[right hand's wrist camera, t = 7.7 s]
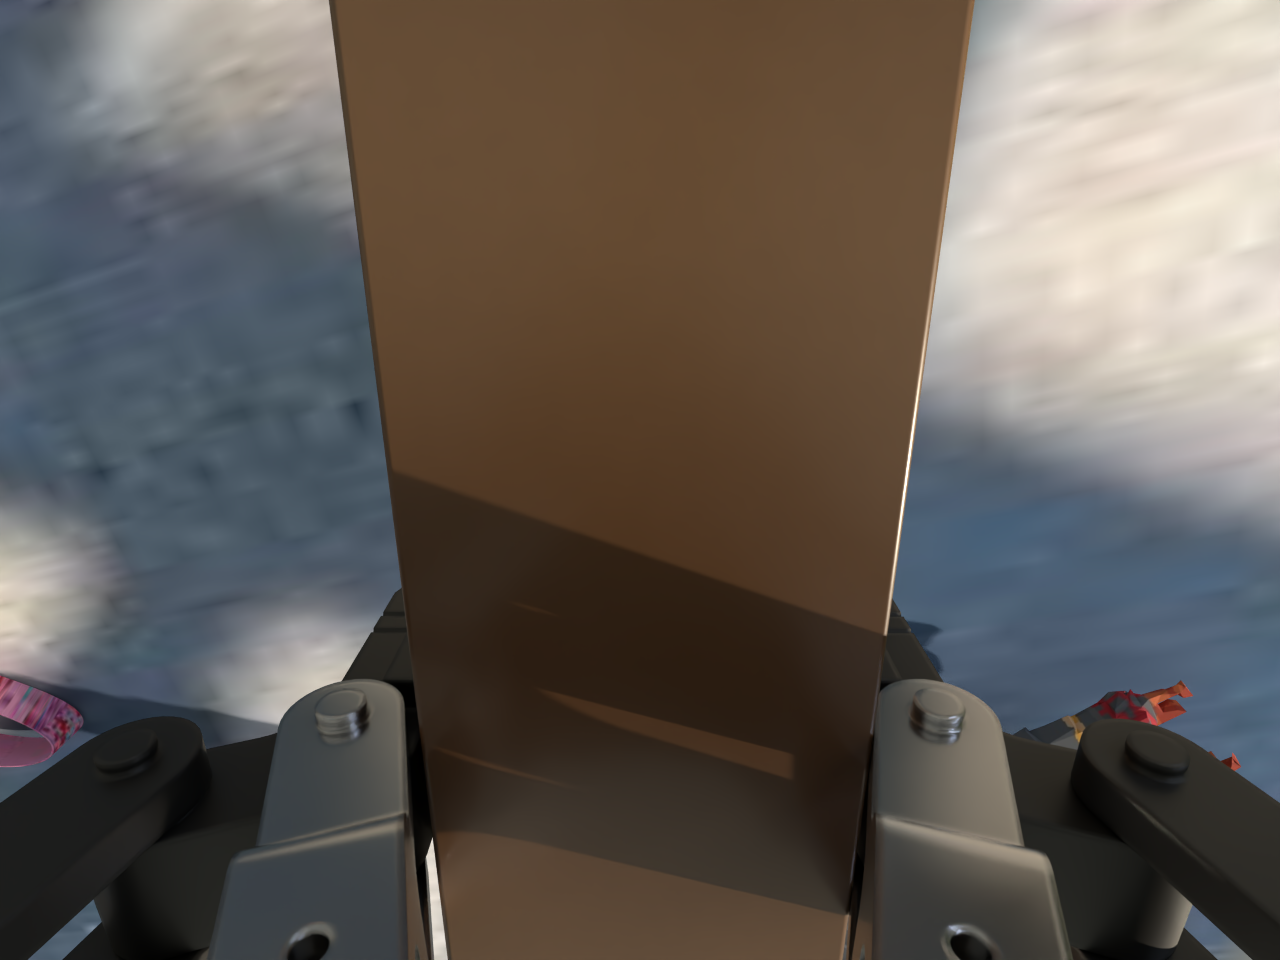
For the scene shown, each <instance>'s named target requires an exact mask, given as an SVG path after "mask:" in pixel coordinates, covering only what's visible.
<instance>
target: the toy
mask: <svg viewBox="0 0 1280 960" xmlns="http://www.w3.org/2000/svg"><path fill="white" fill-rule="evenodd" d="M1177 694H1178V695H1179V696H1181V697H1183V698H1185V697H1190V696H1193V695H1192V694H1191V692H1190V691H1189V690H1188V689H1187V687H1186V686H1185V685H1184V684H1183V682H1182V681H1180V682H1179V683H1178V684H1177V685H1175V686H1173V687H1170V688H1167V689H1159V690H1156V691H1152V692H1149V693H1146V694H1142V695H1140V694H1135V693H1133V692H1132V691H1131V689H1130V691H1129V692H1126V691H1116V692H1108V693H1107V694H1106V695H1105V696H1104V697H1103V698H1102V699H1101V700H1100V701H1099V702H1098V703H1096V704H1094V705H1092V706H1090V707H1088V708H1087V709H1085V710H1083V711H1081V712H1079V713H1077V714H1075V715H1073V716H1071V717H1070V716H1066V717H1063V718H1061V719H1059V720H1056V721H1054V722H1052V723H1049V724H1047V725H1045V726H1042V727H1039V728H1037V729H1034V730H1031V731H1028V729H1027V728H1026V727H1025V728H1023V729H1022V730H1020V731H1019V732H1017V733H1015V734H1014V736H1017V737H1021V738H1025V739H1029V740H1034V741H1038V742H1043V743H1048V744H1052V745H1057V746H1062V747H1066V748H1071V749H1076V750H1077V749H1078V745H1079V742H1080V738H1081V735H1082V732H1083V730H1084V729H1085V728H1086V727H1087V726H1088V725H1090V724H1091V723H1093V722H1096V721H1099V720H1104V719H1129V720H1136V721H1141V722H1145V723H1149V724H1152V725H1156V726H1158V725H1160V724H1162V723H1164V722H1166V721H1168V720H1170V719H1172V718H1174V717H1177V716H1179V715H1181V714H1183V713H1185V712H1186V711H1185V710H1184V708H1183V707H1182V706H1181V705H1180V704H1179V703H1178V702H1177V701H1176V700H1170V699H1168V698H1170V697H1173V696H1175V695H1177ZM1166 699H1167V700H1166ZM1163 700H1165V701H1163ZM1161 701H1163V702H1161ZM1159 702H1161V703H1159ZM1158 703H1159V704H1158ZM1208 753H1210V754H1211V755H1213V756H1214V754H1213V753H1212V752H1211V751H1210V752H1208ZM1214 757H1215V756H1214ZM1215 758H1216V757H1215ZM1221 762H1223V763H1224V764H1225V765H1227V766H1228V767H1230V768H1231V769H1232V770H1234V771H1235V770H1237V769H1238V768H1240V767H1241V766H1240V764H1239V762H1238V760H1237V758H1236V757H1235V755H1234V754H1233V753H1232V757H1230V758H1227V759H1225V760H1222V761H1221ZM848 920H849V916H848ZM847 936H848V923H847V930H846V937H845V945H844V952H843V959H842V960H846V951H847Z"/></svg>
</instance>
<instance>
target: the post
mask: <svg viewBox="0 0 1280 960" xmlns="http://www.w3.org/2000/svg"><path fill="white" fill-rule="evenodd" d="M974 2H975V0H329V5H330V13H331V21H332V29H333V37H334V45H335V54H336V62H337V70H338V78H339V86H340V94H341V102H342V110H343V118H344V126H345V134H346V142H347V150H348V158H349V166H350V174H351V182H352V191H353V199H354V207H355V215H356V223H357V231H358V239H359V247H360V255H361V263H362V271H363V279H364V287H365V295H366V303H367V311H368V320H369V328H370V336H371V344H372V352H373V360H374V368H375V376H376V384H377V392H378V400H379V408H380V416H381V424H382V432H383V440H384V448H385V457H386V465H387V473H388V481H389V489H390V497H391V505H392V513H393V521H394V529H395V537H396V545H397V553H398V561H399V569H400V577H401V585H402V594H403V602H404V610H405V618H406V626H407V634H408V642H409V650H410V658H411V666H412V674H413V682H414V690H415V698H416V706H417V714H418V722H419V731H420V739H421V747H422V755H423V763H424V771H425V779H426V787H427V795H428V803H429V811H430V819H431V827H432V835H433V843H434V851H435V860H436V868H437V876H438V884H439V892H440V900H441V908H442V916H443V924H444V932H445V940H446V948H447V956H448V960H842V959H843V952H844V945H845V937H846V930H847V923H848V916H849V908H850V901H851V894H852V887H853V879H854V872H855V865H856V858H857V850H858V843H859V836H860V829H861V821H862V814H863V807H864V800H865V792H866V785H867V778H868V771H869V763H870V756H871V749H872V742H873V734H874V727H875V720H876V713H877V705H878V698H879V691H880V684H881V676H882V669H883V662H884V655H885V647H886V640H887V633H888V625H889V618H890V611H891V604H892V596H893V589H894V582H895V575H896V567H897V560H898V553H899V546H900V538H901V531H902V524H903V517H904V509H905V502H906V495H907V488H908V480H909V473H910V466H911V459H912V451H913V444H914V437H915V430H916V422H917V415H918V408H919V401H920V393H921V386H922V379H923V372H924V364H925V357H926V350H927V343H928V335H929V328H930V321H931V314H932V306H933V299H934V292H935V285H936V277H937V270H938V263H939V256H940V248H941V241H942V234H943V226H944V219H945V212H946V205H947V197H948V190H949V183H950V176H951V168H952V161H953V154H954V147H955V139H956V132H957V125H958V118H959V110H960V103H961V96H962V89H963V81H964V74H965V67H966V60H967V52H968V45H969V38H970V31H971V23H972V16H973V9H974Z"/></svg>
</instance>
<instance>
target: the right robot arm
mask: <svg viewBox="0 0 1280 960" xmlns="http://www.w3.org/2000/svg"><path fill="white" fill-rule="evenodd" d="M432 837H433V835H432V827H431V819H430V811H429V803H428V795H427V787H426V779H425V771H424V763H423V755H422V747H421V739H420V731H419V722H418V714H417V706H416V698H415V690H414V682H413V674H412V666H411V658H410V650H409V642H408V634H407V626H406V618H405V610H404V602H403V594H402V588H401V589H400V590H398V591H397V592H395V594H394V595H393V597H392V599H391V600H390V602H389V604H388V605H387V607H386V609H385V610H384V612H383V616H381V617H380V619H379V620H378V622H377V623H376V625H375V627H374V632H371V633H370V635H369V637H368V638H367V640H366V642H365V643H364V645H363V647H362V648H361V650H360V652H359V653H358V655H357V657H356V658H355V660H354V662H353V663H352V665H351V667H350V668H349V670H348V672H347V673H346V675H345V677H344V678H343V680H342V681H341V682H337V683H333V684H330V685H327V686H324V687H322V688H319V689H317V690H315V691H313V692H311V693H309V694H307V695H306V696H304V697H303V698H301V699H300V700H298V701H297V702H296V703H295V704H294V705H292V706H291V707H290V708H289V709H288V711H287V712H286V713H285V714H284V716H283V718H282V719H281V721H280V724H279V727H278V732H277V733H275V734H272V735H269V736H265V737H261V738H257V739H252V740H247V741H243V742H238V743H233V744H229V745H224V746H219V747H215V748H210V749H206V748H205V744H204V741H203V737H202V733H201V731H200V728H199V727H198V726H197V725H196V724H195V723H193V722H191V721H190V720H187V719H184V718H179V717H152V718H147V719H142V720H137V721H134V722H130V723H127V724H124V725H121V726H118V727H115V728H113V729H111V730H109V731H106V732H104V733H102V734H100V735H98V736H96V737H95V738H93V739H91V740H89V741H88V742H86V743H85V744H83V745H82V746H80V747H79V748H77V749H76V750H74V751H73V752H72V753H70V754H69V755H67V756H66V757H65V758H63V759H62V760H60V761H59V762H58V763H56V764H55V765H53V766H52V767H50V768H49V769H48V770H46V771H45V772H43V773H42V774H41V775H39V776H38V777H36V778H35V779H34V780H32V781H31V782H29V783H28V784H26V785H25V786H24V787H22V788H21V789H19V790H18V791H17V792H15V793H14V794H12V795H11V796H10V797H8V798H7V799H5V800H4V801H3V802H1V803H0V960H28V959H29V958H30V957H31V956H32V955H33V954H34V953H35V952H36V951H37V950H39V949H40V948H41V947H42V946H43V945H44V944H45V943H46V942H47V941H48V940H49V939H51V938H52V937H53V936H54V935H55V934H56V933H57V932H58V931H59V930H60V929H61V928H62V927H64V926H65V925H66V924H67V923H68V922H69V921H70V920H71V919H72V918H73V917H74V916H76V915H77V914H78V913H79V912H80V911H81V910H82V909H83V908H84V907H85V906H86V905H88V904H89V903H90V902H91V901H92V900H93V899H94V902H95V905H96V907H97V910H98V913H99V915H100V918H101V921H102V922H101V923H100V924H99V925H98V926H97V927H96V928H95V929H94V930H93V931H92V932H91V933H90V934H89V935H88V936H87V937H86V938H85V939H84V940H83V941H81V942H80V943H79V944H78V945H77V946H76V947H75V948H74V949H73V950H72V951H71V952H70V953H69V954H68V955H67V956H66V957H65V958H64V959H63V960H434V952H433V937H432V922H431V907H430V892H429V877H428V868H427V861H426V855H427V853H428V850H429V847H430V843H431V840H432ZM1192 905H1194V906H1195V907H1196V908H1197V909H1198V910H1199V911H1200V912H1201V913H1202V914H1203V915H1204V916H1206V917H1207V918H1208V919H1209V920H1210V921H1211V922H1212V923H1213V924H1214V925H1215V926H1216V927H1218V928H1219V929H1220V930H1221V931H1222V932H1223V933H1224V934H1225V935H1226V936H1227V937H1228V938H1230V939H1231V940H1232V941H1233V942H1234V943H1235V944H1236V945H1237V946H1238V947H1239V948H1240V949H1241V950H1243V951H1244V952H1245V953H1246V954H1247V955H1248V956H1249V957H1250V958H1251V959H1252V960H1280V803H1279V802H1278V801H1276V800H1275V799H1273V798H1272V797H1270V796H1269V795H1268V794H1266V793H1265V792H1263V791H1262V790H1261V789H1259V788H1258V787H1256V786H1255V785H1254V784H1252V783H1251V782H1249V781H1248V780H1246V779H1245V778H1244V777H1242V776H1241V775H1239V774H1238V773H1237V772H1235V771H1234V770H1232V769H1231V768H1230V767H1228V766H1227V765H1225V764H1224V763H1223V762H1221V761H1220V760H1218V759H1217V758H1215V757H1214V756H1213V755H1211V754H1210V753H1208V752H1207V751H1206V750H1204V749H1203V748H1201V747H1200V746H1198V745H1197V744H1195V743H1193V742H1192V741H1190V740H1188V739H1186V738H1184V737H1183V736H1181V735H1178V734H1176V733H1174V732H1172V731H1169V730H1167V729H1164V728H1161V727H1159V726H1156V725H1152V724H1149V723H1145V722H1141V721H1136V720H1129V719H1104V720H1099V721H1096V722H1093V723H1091V724H1090V725H1088V726H1087V727H1086V728H1085V729H1084V730H1083V732H1082V735H1081V738H1080V742H1079V745H1078V749H1077V750H1076V749H1071V748H1066V747H1062V746H1057V745H1052V744H1048V743H1043V742H1038V741H1034V740H1029V739H1025V738H1021V737H1017V736H1014V735H1011V734H1008V733H1005V732H1002V727H1001V724H1000V721H999V719H998V718H997V716H996V714H995V713H994V712H993V711H992V710H991V708H990V707H989V706H988V705H986V704H985V703H984V702H983V701H982V700H980V699H979V698H977V697H976V696H974V695H973V694H971V693H969V692H967V691H965V690H963V689H961V688H958V687H956V686H953V685H950V684H947V683H944V682H943V681H942V679H941V677H940V676H939V674H938V672H937V671H936V669H935V667H934V666H933V664H932V663H931V661H930V659H929V658H928V656H927V654H926V653H925V651H924V650H923V648H922V646H921V645H920V643H919V641H918V640H917V638H916V636H915V635H914V633H911V628H910V627H909V625H908V623H907V622H906V620H905V619H904V617H901V612H900V610H899V609H898V607H897V605H896V604H895V602H894V601H893V599H892V604H891V611H890V618H889V625H888V633H887V640H886V647H885V655H884V662H883V669H882V676H881V684H880V691H879V698H878V705H877V713H876V720H875V727H874V734H873V742H872V749H871V756H870V763H869V771H868V778H867V785H866V792H865V800H864V807H863V814H862V821H861V829H860V836H859V843H858V850H857V858H856V865H855V872H854V879H853V887H852V894H851V901H850V908H849V920H848V936H847V951H846V960H1217V959H1216V958H1215V957H1214V956H1213V955H1212V954H1211V953H1210V952H1209V951H1208V950H1207V949H1206V948H1205V947H1204V946H1203V945H1202V944H1201V943H1200V942H1199V941H1197V940H1196V939H1195V938H1194V937H1193V936H1192V935H1191V934H1190V933H1189V932H1188V931H1187V930H1186V929H1185V928H1184V925H1185V923H1186V920H1187V917H1188V915H1189V912H1190V909H1191V907H1192Z"/></svg>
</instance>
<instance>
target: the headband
mask: <svg viewBox="0 0 1280 960" xmlns="http://www.w3.org/2000/svg"><path fill="white" fill-rule="evenodd" d="M0 715H2V716H5V717H7V718H10V719H12V720H14V721H17V722H19V723H21V724H23V725H25V726H27V727H29V728H31V729H33V730H35V731H36V732H38V733H39V734H41V735H42V736H43V737H45V738H31V737H18V736H11V735H5V734H0V767H19V766H28V765H33V764H37V763H40V762H43V761H45V760H47V759H48V758H50V757H51V756H52V755H53V754H54V753H55V752H56V751H57V750H58V749H59V748H60V747H61V746H62V745H63V744H64V743H65V742H66V741H67V740H69V739H70V738H71V737H72V736H73V735H74V734H75V733H76V732H77V731H78V730H79V729H80V728H81V727H82V725H83V717H82V716H81V714H80V713H79V712H78V711H77V710H76V709H75V708H74V707H72V706H71V705H69V704H68V703H66V702H64V701H62V700H61V699H59V698H57V697H55V696H52V695H50V694H48V693H46V692H43V691H41V690H38V689H36V688H33V687H31V686H28V685H25V684H23V683H20V682H17V681H14V680H11V679H8V678H5V677H2V676H0Z"/></svg>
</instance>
